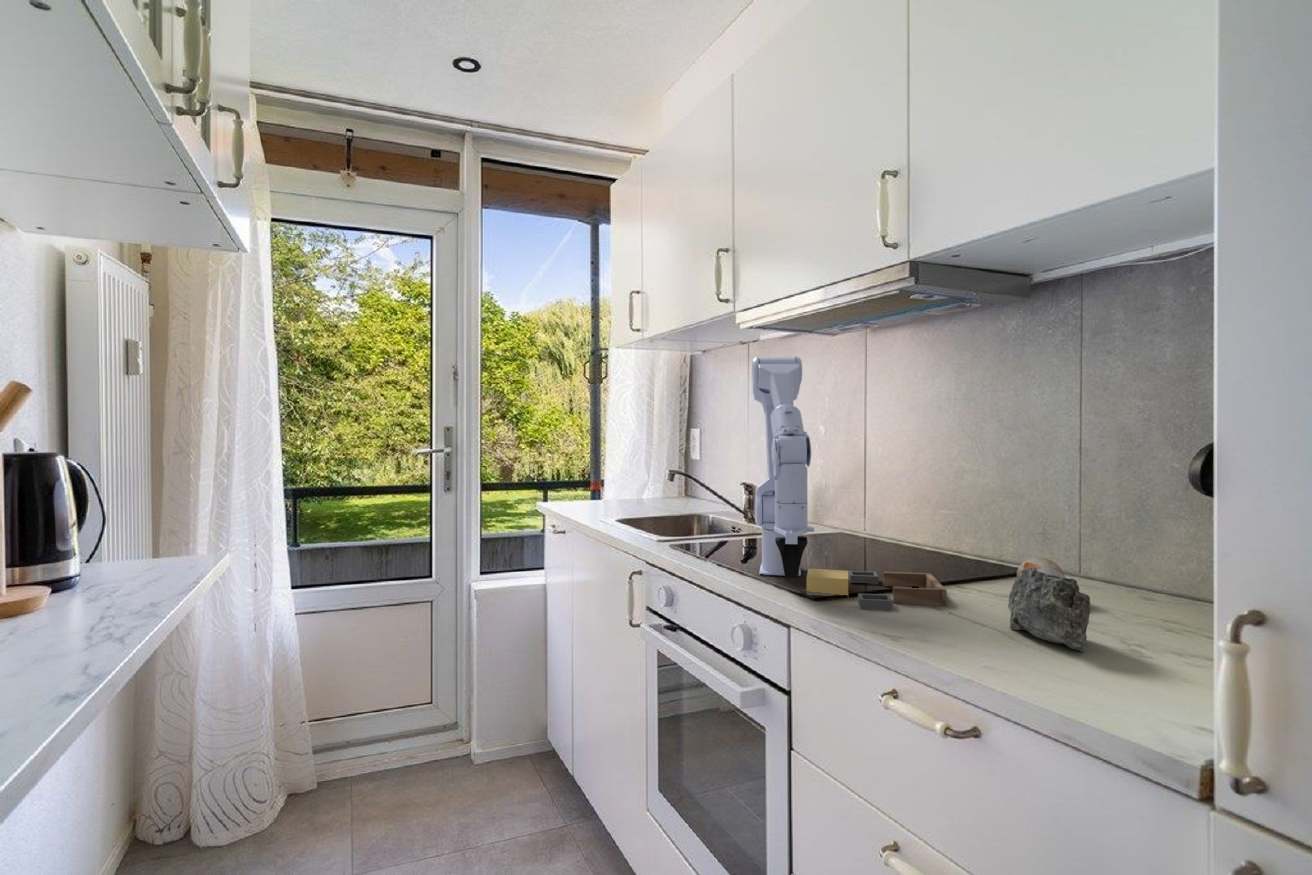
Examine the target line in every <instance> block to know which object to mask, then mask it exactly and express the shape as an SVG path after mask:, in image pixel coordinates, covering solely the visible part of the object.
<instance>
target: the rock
mask: <svg viewBox="0 0 1312 875" xmlns="http://www.w3.org/2000/svg"><path fill="white" fill-rule="evenodd" d="M1011 587H1012V588H1011V590H1010V592H1009V594H1008V597H1009V598H1008V606H1007V607H1008V608H1007V609H1008V610H1009V612H1010V615H1009V625H1010V627H1009V628H1010V630H1012V631H1016V630H1018V631H1019V630H1020V631H1021V630H1025V631H1027V632H1028V633H1029V634H1031V635H1032V636H1034V637H1036V638H1039V639H1041V640H1043V641H1048V642H1050V643H1053V644H1058V645H1062V644H1064V645H1065V646H1067V647H1068V648H1070V649H1072V650H1076V651H1079V652H1084V651H1085V649H1086V647H1087V644H1088V643H1087V638H1088V636H1087V628H1088V625H1089V623H1090V614H1091V612H1092V609H1091V598H1090V595H1089V594H1086V593H1085V592H1080V586H1079V585H1078V581H1077V579H1075V578H1066V577H1065V578H1062V577H1059V576H1054V575H1050V574H1047V573H1043V572H1040V571H1037V570H1036V568H1035V567H1030V568H1028V569H1022V571H1021V572H1020V574H1019V575H1018V577H1017V576H1016V579H1015V580H1014V583H1013V584H1012V586H1011Z"/></svg>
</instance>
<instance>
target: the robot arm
mask: <svg viewBox="0 0 1312 875" xmlns="http://www.w3.org/2000/svg"><path fill="white" fill-rule="evenodd" d="M802 380H803V361H802V359H801V358H800V356H797V355H796V356H795V355H794V357H793V356H788V357H787V356H781V357H778V356H777V357H775V356H774V357H773V356H771V357H759V356H755V357H754V358H753V359H752V362H751V382H752V395H753V398H754V400H755V401H757V402H758V403H760V404H761V405H762V408H763V412H764V421H765V422H764V423H765V443H766V444H765V445H766V464H767V465H766V469H767V479H766V480H765V481H764V482H761V484H759V485H758V486H757V487H756V490H755V491H754V520H755V521H754V522H755V524H756V525H757V526H758V527H760V528H761V563H760V567H759V573H758V574H759V575H760V574H763V575H762V576H784V577H785V579H793V580H797V579H798V577H801V574H802V571H801V562H802V557H803V554H804V552H805V550H806V549H805V548H806V547H807V545H808V542H809V541H808V537H807V536H804V535H805V534H807V533H811V532H812V533H813V532H815V526H810V525H809V524H808V512H809V510H808V509H809V508H808V503H809V502H808V468H809V467H810V464H811V461H812V444H811V438H810V435H809V434H808V432H807V431H805V429H804V423H803V418H802V412H801V410H800V409H799V408H798V407H796V406H794V401H796V400H797V399H798V395H799V394H800V389H801V383H802ZM808 525H809V526H808ZM801 535H803V536H801Z"/></svg>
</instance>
